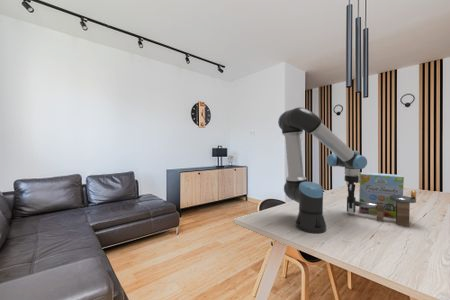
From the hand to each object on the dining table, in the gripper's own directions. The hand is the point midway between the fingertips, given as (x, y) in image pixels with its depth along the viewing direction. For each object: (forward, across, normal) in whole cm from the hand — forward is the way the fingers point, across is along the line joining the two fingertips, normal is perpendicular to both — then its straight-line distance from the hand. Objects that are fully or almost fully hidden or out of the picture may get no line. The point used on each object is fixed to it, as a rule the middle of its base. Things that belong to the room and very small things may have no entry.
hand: (351, 212), depth 129 cm
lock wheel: (-11, 0, -24) cm, 27 cm away
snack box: (+2, +12, -14) cm, 19 cm away
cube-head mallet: (0, 0, -10) cm, 10 cm away
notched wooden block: (+2, 0, -20) cm, 20 cm away
